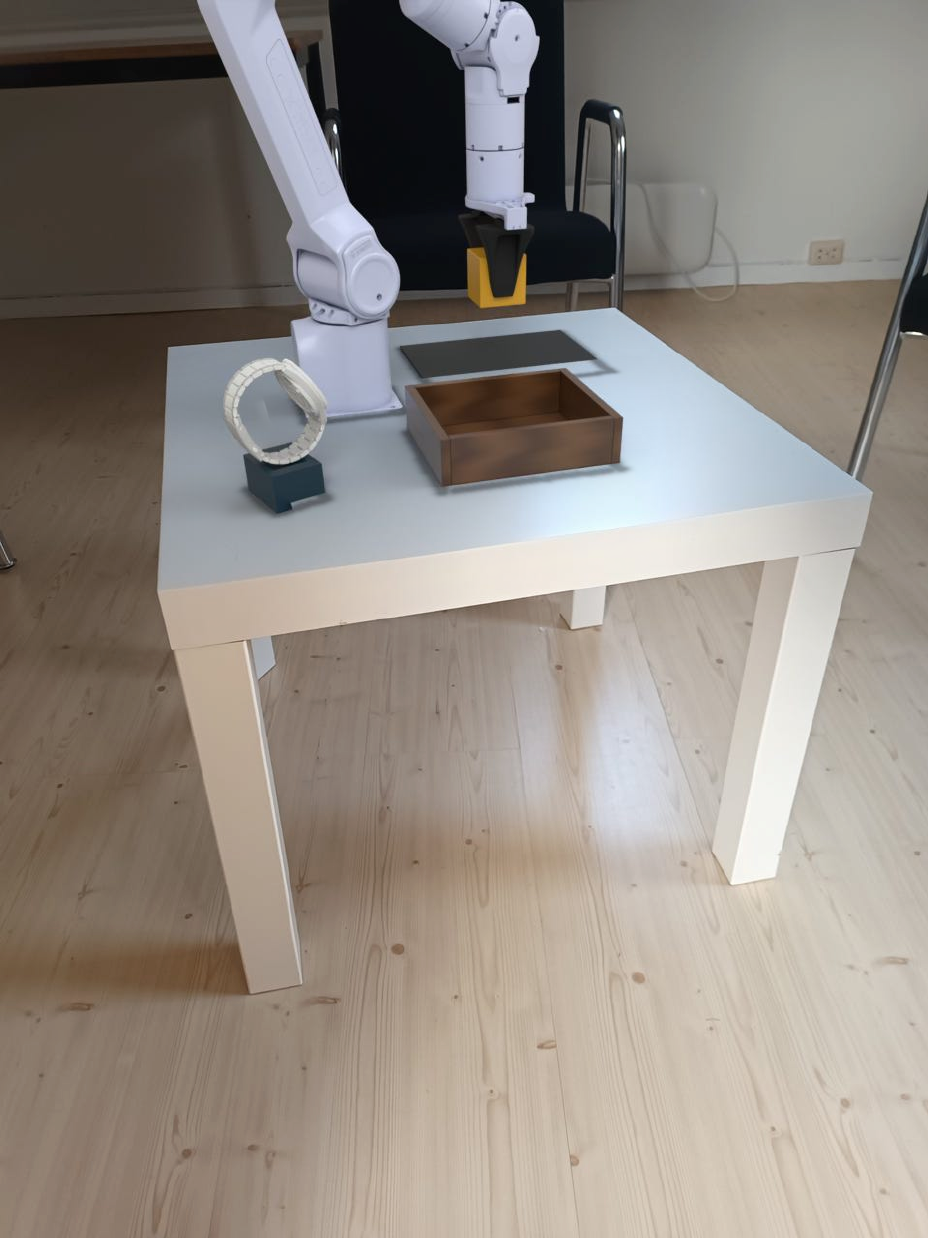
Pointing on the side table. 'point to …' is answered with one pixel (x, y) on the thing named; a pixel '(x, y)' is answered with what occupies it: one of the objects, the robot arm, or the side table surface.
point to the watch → (289, 465)
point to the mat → (494, 353)
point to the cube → (481, 284)
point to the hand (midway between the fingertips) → (495, 290)
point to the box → (511, 426)
